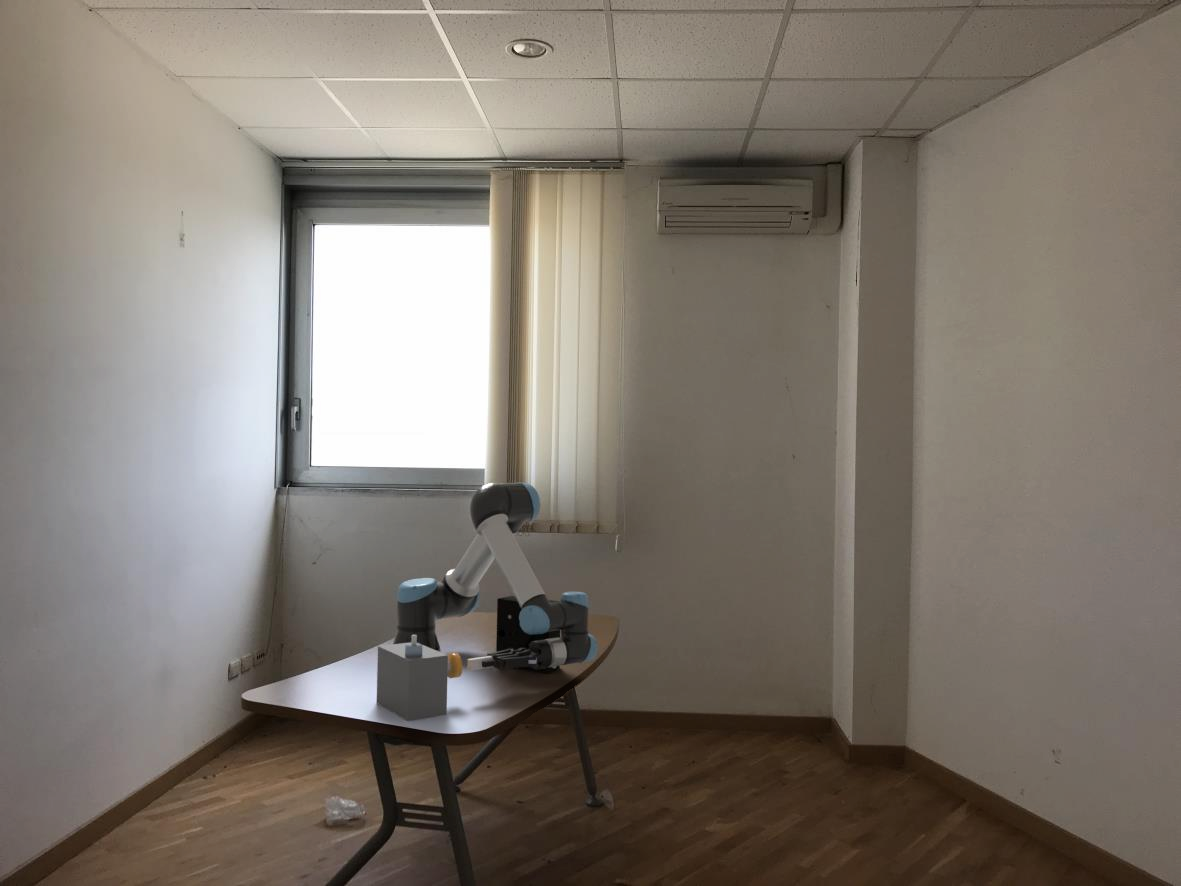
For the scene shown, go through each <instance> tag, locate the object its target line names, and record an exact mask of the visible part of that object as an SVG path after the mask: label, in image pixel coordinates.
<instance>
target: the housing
mask: <svg viewBox="0 0 1181 886" xmlns="http://www.w3.org/2000/svg"><path fill="white" fill-rule="evenodd" d="M407 644H411V642H410V643H401V644H393V643H392V644H386V645H378V646H377V671H376V675H377V676H376V704H378V705H380V706H381V707H383V708H384V709H386V710H388V711H390V712H392V713H393V712H394V713H393V714H395V715H397V716H398V715H399V717H400V718H402V719H403V718H404V720H405V721H407V722H410V721H409V720H411V721H415V720H420V719H421V720H422V719H427V718H433V717H434V718H435V717H440V716H444V715H447V711H448V710H447V709H448V708H447V705H448V676H447V675H448V655H447V654H446V653H443V652H439V651H436V650H434V649H431V648H429V647H426V646H424V645H422V656H420V657H406V656H405V645H407ZM417 644H419V643H417Z"/></svg>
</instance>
